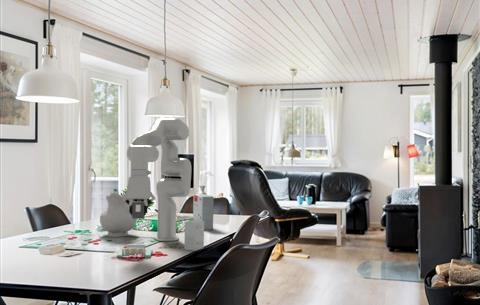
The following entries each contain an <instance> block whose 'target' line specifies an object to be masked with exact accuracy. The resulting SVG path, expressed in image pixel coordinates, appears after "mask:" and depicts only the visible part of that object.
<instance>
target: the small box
mask: <svg viewBox="0 0 480 305" xmlns="http://www.w3.org/2000/svg"><path fill="white" fill-rule="evenodd" d="M204 248H205V230H204V221H199V220H193V219H192V220H187V221H184V250H185V251H195V252H196V251H198V250H202V249H204Z"/></svg>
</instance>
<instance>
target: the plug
mask: <svg viewBox="0 0 480 305" xmlns="http://www.w3.org/2000/svg"><path fill="white" fill-rule="evenodd" d="M144 206H145V203H144V201H135V200H133V202H132V218H137V219H144V218H145V215H144Z"/></svg>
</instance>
